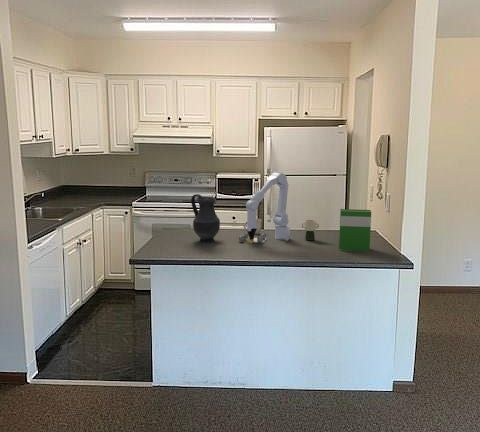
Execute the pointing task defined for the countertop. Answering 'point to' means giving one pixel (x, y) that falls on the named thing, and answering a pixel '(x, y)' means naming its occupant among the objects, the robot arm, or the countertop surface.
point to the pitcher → (205, 218)
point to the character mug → (310, 229)
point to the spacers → (246, 235)
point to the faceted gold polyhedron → (249, 240)
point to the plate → (256, 240)
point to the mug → (258, 224)
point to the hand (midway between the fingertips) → (251, 240)
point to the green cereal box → (355, 229)
